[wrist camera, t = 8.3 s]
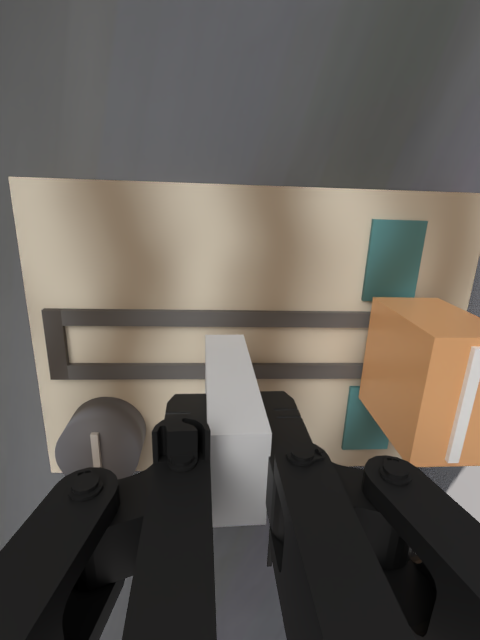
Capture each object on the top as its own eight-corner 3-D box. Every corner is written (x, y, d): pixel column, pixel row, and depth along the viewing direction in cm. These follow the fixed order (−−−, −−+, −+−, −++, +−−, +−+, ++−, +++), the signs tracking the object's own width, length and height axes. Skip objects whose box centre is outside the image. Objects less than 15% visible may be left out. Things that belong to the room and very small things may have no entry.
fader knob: (358, 397, 19) (411, 471, 14) (372, 297, 17) (438, 340, 12) (418, 396, 19) (491, 469, 14) (437, 297, 17) (527, 340, 12)
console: (65, 447, 21) (32, 506, 17) (30, 178, 17) (-25, 174, 13) (413, 442, 23) (456, 494, 19) (464, 193, 19) (533, 194, 15)
